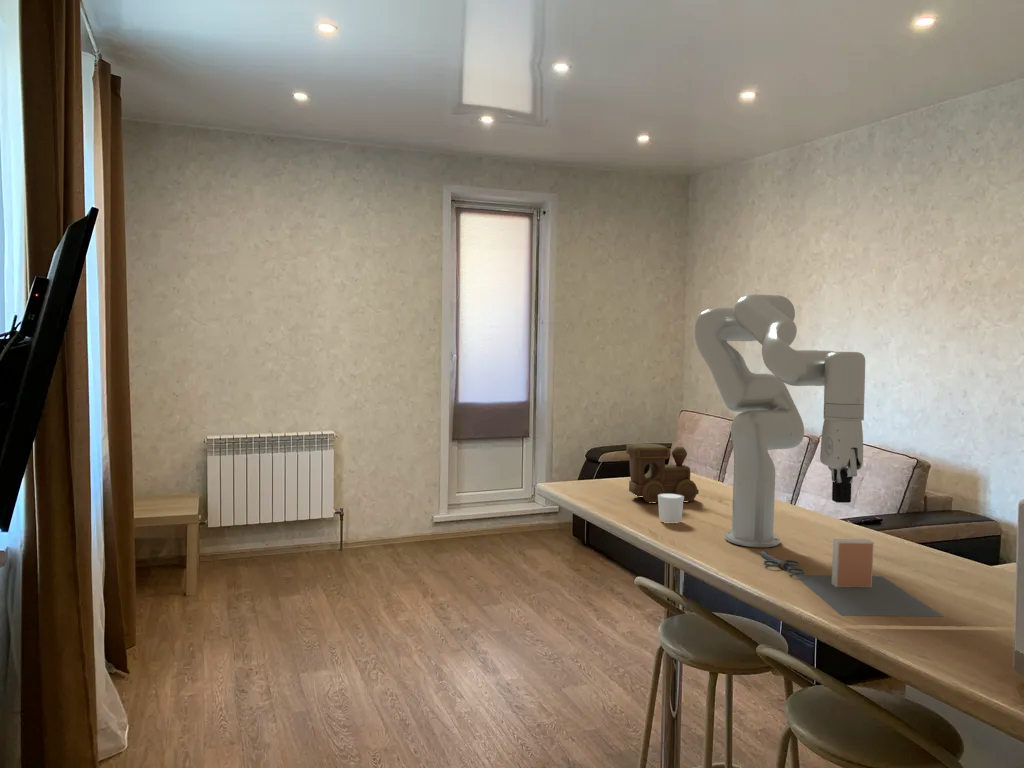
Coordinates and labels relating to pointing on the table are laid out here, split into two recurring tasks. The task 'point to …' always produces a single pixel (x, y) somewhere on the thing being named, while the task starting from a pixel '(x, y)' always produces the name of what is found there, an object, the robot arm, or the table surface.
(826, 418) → the robot arm
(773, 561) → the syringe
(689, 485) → the wooden toy train
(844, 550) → the tile
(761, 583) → the table surface
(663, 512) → the white short tapered cylinder
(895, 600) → the mat
